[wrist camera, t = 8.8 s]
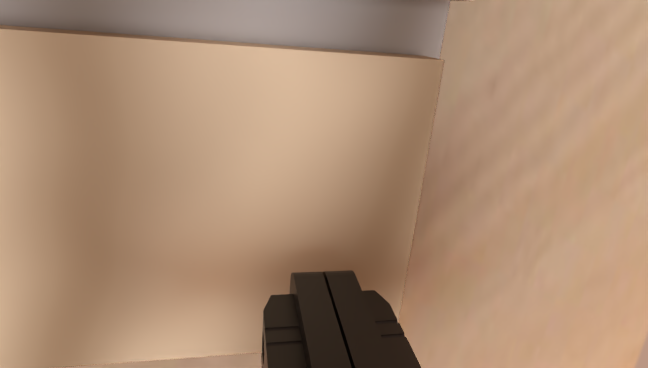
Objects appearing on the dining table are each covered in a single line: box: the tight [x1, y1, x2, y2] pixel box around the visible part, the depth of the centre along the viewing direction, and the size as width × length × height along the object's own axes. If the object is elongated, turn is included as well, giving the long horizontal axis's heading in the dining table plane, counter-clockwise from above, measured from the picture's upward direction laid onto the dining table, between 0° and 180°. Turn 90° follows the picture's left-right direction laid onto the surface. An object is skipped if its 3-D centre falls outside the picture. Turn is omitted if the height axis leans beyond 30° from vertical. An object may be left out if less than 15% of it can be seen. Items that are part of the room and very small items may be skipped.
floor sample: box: [0, 0, 474, 59], centre depth 9 cm, size 19×18×2 cm
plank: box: [0, 25, 444, 368], centre depth 10 cm, size 18×8×1 cm, turn 85°
